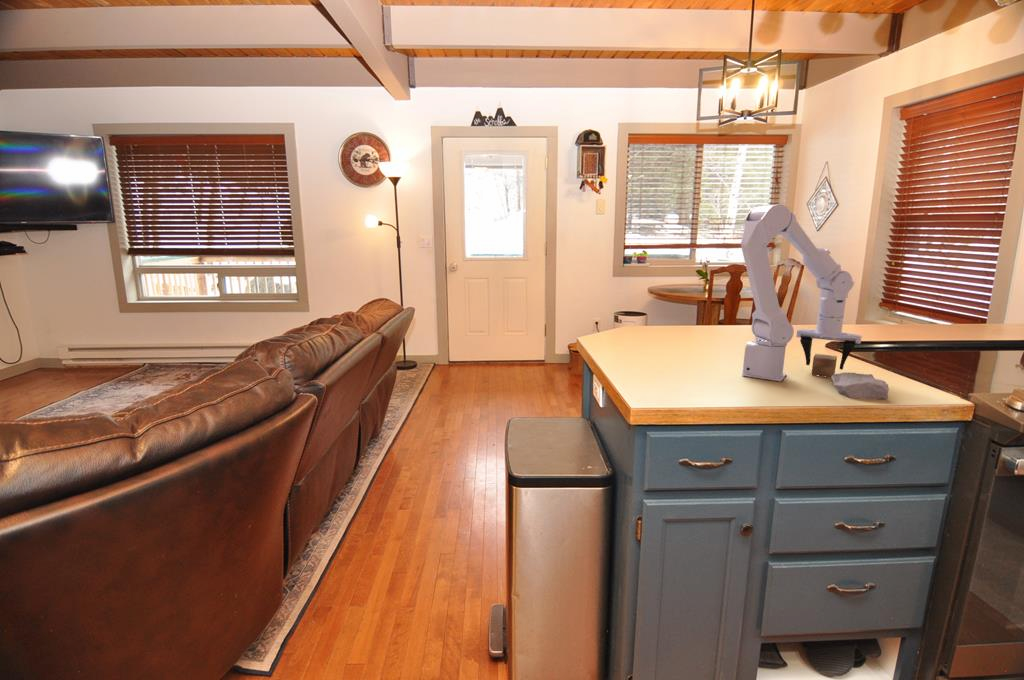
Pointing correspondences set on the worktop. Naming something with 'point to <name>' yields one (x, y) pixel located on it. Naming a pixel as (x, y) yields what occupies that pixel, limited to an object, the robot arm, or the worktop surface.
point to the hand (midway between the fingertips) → (824, 366)
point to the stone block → (860, 386)
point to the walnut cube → (824, 365)
